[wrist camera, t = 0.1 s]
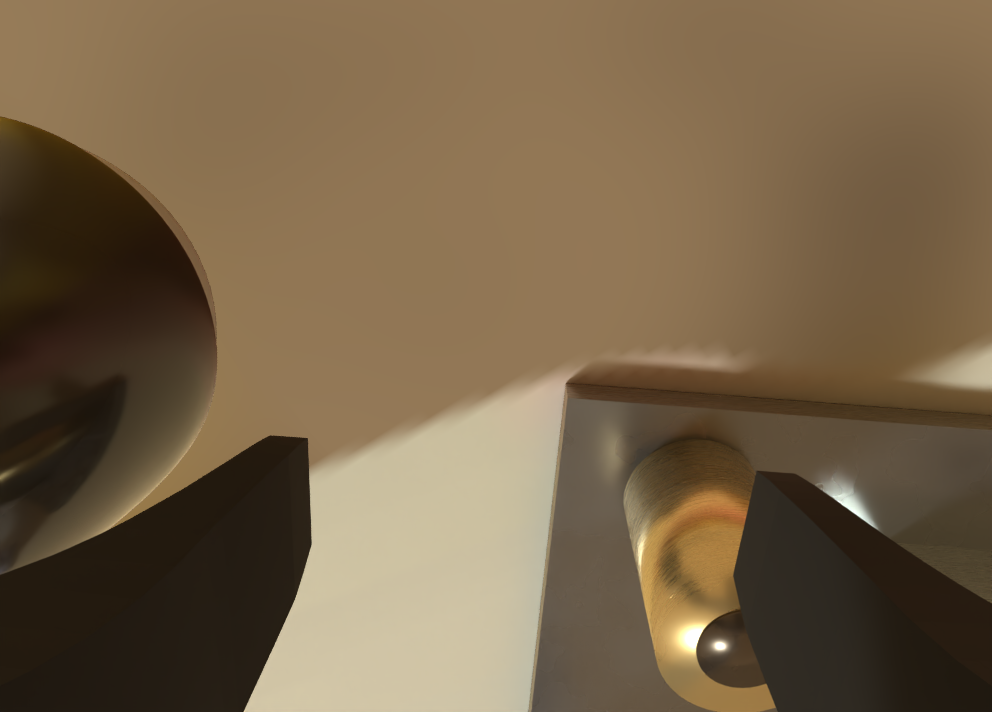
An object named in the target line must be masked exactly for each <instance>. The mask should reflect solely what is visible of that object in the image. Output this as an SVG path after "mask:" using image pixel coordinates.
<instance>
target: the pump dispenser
mask: <svg viewBox="0 0 992 712" xmlns="http://www.w3.org/2000/svg"><path fill="white" fill-rule="evenodd" d="M216 371H217V346H216V316H215V308H214V302H213V297H212V293H211V288H210V285H209V282H208V279H207V276H206V273H205V270H204V268H203V265H202V263H201V261H200V258H199V256H198V254H197V253H196V251H195V249H194V247H193V245H192V243H191V242H190V240H189V239H188V237H187V235H186V234H185V232H184V231H183V229H182V228H181V226H180V225H179V224H178V222H177V221H176V220H175V219H174V217H173V216H172V215H171V214H170V212H169V211H168V210H167V209H166V208H165V207H164V206H163V205H162V204H161V203H160V202H159V201H158V200H157V199H156V198H155V197H154V196H153V195H152V194H151V193H150V192H149V191H148V190H147V189H146V188H144V187H143V186H142V185H141V184H140V183H138V182H137V181H135V180H134V179H133V178H132V177H130V176H129V175H128V174H126V173H125V172H123V171H122V170H120V169H118V168H117V167H115V166H114V165H112V164H111V163H109V162H107V161H106V160H104V159H102V158H100V157H98V156H96V155H94V154H92V153H90V152H88V151H86V150H83V149H81V148H79V147H77V146H76V145H74V144H72V143H70V142H68V141H66V140H64V139H62V138H60V137H58V136H56V135H54V134H51V133H49V132H47V131H45V130H42V129H40V128H37V127H34V126H32V125H29V124H26V123H22V122H19V121H16V120H12V119H8V118H5V117H0V575H1V574H4V573H6V572H9V571H12V570H14V569H17V568H20V567H22V566H25V565H28V564H30V563H33V562H36V561H38V560H41V559H44V558H46V557H49V556H51V555H54V554H56V553H59V552H61V551H63V550H66V549H68V548H70V547H72V546H74V545H77V544H79V543H81V542H83V541H86V540H88V539H90V538H92V537H94V536H97V535H99V534H101V533H103V532H105V531H107V530H108V529H110V528H111V527H112V526H113V525H114V524H116V523H117V522H118V521H119V520H120V519H122V518H123V517H124V516H125V515H126V514H127V513H129V512H130V511H131V510H132V509H133V508H134V507H136V506H137V505H138V504H139V503H140V502H141V501H142V500H143V499H144V498H145V497H147V496H148V495H149V494H150V493H151V492H152V491H153V490H154V489H155V488H156V487H157V486H158V485H159V484H160V483H161V482H162V481H163V480H164V479H165V478H166V477H167V475H168V474H169V473H170V472H171V471H172V470H173V469H174V467H175V466H176V465H177V464H178V463H179V461H180V460H181V459H182V457H183V456H184V455H185V454H186V452H187V451H188V450H189V448H190V446H191V445H192V444H193V442H194V440H195V439H196V437H197V435H198V434H199V432H200V430H201V427H202V426H203V424H204V421H205V419H206V417H207V414H208V411H209V408H210V405H211V402H212V397H213V394H214V388H215V382H216Z"/></svg>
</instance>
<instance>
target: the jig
mask: <svg viewBox="0 0 992 712" xmlns="http://www.w3.org/2000/svg"><path fill="white" fill-rule="evenodd" d="M684 440H708V441H714V442H717V443H721V444H723V445H726V446H728V447H730V448H732V449H734V450H736V451H737V452H738V453H740V454H741V455H742V456H743V457H744V458H745V459H746V460H747V461H748V462H749V464H750V465H751V466H752V468H753V470H754V471H755V473H756V471H768V472H782V473H795V474H797V475H799V476H800V477H802V478H804V479H805V480H807V481H809V482H810V483H812V484H813V485H815V486H816V487H818V488H819V489H821V490H822V491H824V492H825V493H826V494H828V495H829V496H831V497H832V498H834V499H835V500H836V501H838V502H839V503H841V504H842V505H843V506H845V507H846V508H847V509H849V510H850V511H852V512H853V513H854V514H856V515H857V516H859V517H860V518H861V519H863V520H864V521H866V522H867V523H868V524H870V525H871V526H873V527H874V528H875V529H877V530H878V531H880V532H881V533H883V534H884V535H885V536H887V537H888V538H890V539H891V540H893V541H894V542H895V543H897V544H898V545H900V546H901V547H903V548H904V549H906V550H907V551H909V552H910V553H912V554H913V555H915V556H916V557H918V558H919V559H921V560H922V561H924V562H925V563H927V564H928V565H930V566H931V567H933V568H935V569H936V570H938V571H939V572H941V573H942V574H944V575H946V576H947V577H949V578H950V579H952V580H954V581H955V582H957V583H958V584H960V585H961V586H963V587H965V588H966V589H968V590H970V591H971V592H973V593H975V594H977V595H978V596H980V597H982V598H983V599H985V600H987V601H989V602H990V603H992V416H989V415H976V414H963V413H950V412H937V411H924V410H911V409H897V408H884V407H871V406H858V405H845V404H832V403H819V402H806V401H793V400H779V399H766V398H753V397H740V396H727V395H714V394H701V393H688V392H675V391H662V390H648V389H635V388H622V387H609V386H596V385H583V384H570V383H566V386H565V395H564V403H563V412H562V421H561V430H560V439H559V447H558V456H557V465H556V474H555V482H554V491H553V500H552V509H551V517H550V526H549V535H548V544H547V553H546V561H545V570H544V579H543V588H542V596H541V605H540V614H539V623H538V631H537V640H536V649H535V658H534V666H533V675H532V684H531V693H530V702H529V710H528V712H716V711H712V710H708V709H705V708H702V707H699V706H696V705H694V704H692V703H690V702H688V701H687V700H685V699H684V698H682V697H680V696H679V695H678V694H677V693H676V692H674V691H673V690H672V689H671V688H670V686H669V685H668V684H667V683H666V681H665V680H664V678H663V677H662V675H661V673H660V670H659V668H658V665H657V660H656V656H655V651H654V647H653V642H652V637H651V633H650V628H649V623H648V618H647V614H646V609H645V604H644V600H643V595H642V590H641V586H640V581H639V576H638V572H637V567H636V562H635V558H634V553H633V548H632V543H631V539H630V534H629V529H628V525H627V520H626V515H625V511H624V502H623V500H624V492H625V487H626V484H627V482H628V479H629V477H630V476H631V474H632V472H633V471H634V469H635V468H636V467H637V465H638V464H639V463H640V462H641V461H642V460H643V459H645V458H646V457H647V456H648V455H650V454H651V453H653V452H654V451H656V450H658V449H659V448H662V447H664V446H666V445H669V444H672V443H675V442H679V441H684ZM760 712H778V711H777V709H776V708H772V709H769V710H765V711H760Z"/></svg>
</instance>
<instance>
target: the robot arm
mask: <svg viewBox="0 0 992 712" xmlns="http://www.w3.org/2000/svg"><path fill="white" fill-rule="evenodd" d="M311 545H312V541H311V513H310V486H309V459H308V438H298V437H284V436H268V437H266V438H264V439H262V440H261V441H259V442H257V443H256V444H254V445H252V446H251V447H249V448H248V449H246V450H244V451H243V452H241V453H240V454H238V455H236V456H235V457H233V458H232V459H231V460H229V461H227V462H226V463H224V464H222V465H221V466H219V467H218V468H216V469H214V470H213V471H211V472H210V473H208V474H206V475H205V476H203V477H202V478H200V479H198V480H197V481H195V482H194V483H192V484H190V485H189V486H187V487H186V488H184V489H182V490H181V491H179V492H177V493H175V494H173V495H172V496H170V497H169V498H166V499H165V500H163V501H161V502H159V503H158V504H156V505H154V506H152V507H150V508H149V509H147V510H145V511H143V512H142V513H140V514H138V515H136V516H134V517H133V518H131V519H129V520H127V521H125V522H123V523H121V524H119V525H117V526H115V527H113V528H111V529H109V530H107V531H105V532H103V533H101V534H99V535H97V536H94V537H92V538H90V539H88V540H86V541H83V542H81V543H79V544H77V545H74V546H72V547H70V548H68V549H66V550H63V551H61V552H59V553H56V554H54V555H51V556H49V557H46V558H44V559H41V560H38V561H36V562H33V563H30V564H28V565H25V566H22V567H20V568H17V569H14V570H12V571H9V572H6V573H4V574H1V575H0V712H244V710H245V707H246V705H247V703H248V701H249V699H250V697H251V694H252V692H253V690H254V688H255V686H256V684H257V681H258V679H259V677H260V675H261V673H262V671H263V668H264V666H265V664H266V662H267V660H268V658H269V655H270V653H271V651H272V649H273V647H274V645H275V642H276V640H277V638H278V636H279V634H280V631H281V629H282V627H283V625H284V623H285V620H286V618H287V616H288V614H289V611H290V609H291V607H292V605H293V602H294V600H295V598H296V595H297V591H298V588H299V585H300V582H301V579H302V576H303V572H304V569H305V565H306V562H307V558H308V555H309V552H310V548H311ZM733 577H734V582H735V586H736V591H737V595H738V600H739V604H740V609H741V612H742V616H743V620H744V624H745V628H746V632H747V635H748V637H749V640H750V643H751V645H752V648H753V650H754V653H755V656H756V658H757V661H758V663H759V666H760V669H761V671H762V674H763V676H764V679H765V681H766V684H767V686H768V689H769V691H770V694H771V696H772V699H773V701H774V704H775V706H776V709H777V711H778V712H992V603H990V602H989V601H987V600H985V599H983V598H982V597H980V596H978V595H977V594H975V593H973V592H971V591H970V590H968V589H966V588H965V587H963V586H961V585H960V584H958V583H957V582H955V581H954V580H952V579H950V578H949V577H947V576H946V575H944V574H942V573H941V572H939V571H938V570H936V569H935V568H933V567H931V566H930V565H928V564H927V563H925V562H924V561H922V560H921V559H919V558H918V557H916V556H915V555H913V554H912V553H910V552H909V551H907V550H906V549H904V548H903V547H901V546H900V545H898V544H897V543H895V542H894V541H893V540H891V539H890V538H888V537H887V536H885V535H884V534H883V533H881V532H880V531H878V530H877V529H875V528H874V527H873V526H871V525H870V524H868V523H867V522H866V521H864V520H863V519H861V518H860V517H859V516H857V515H856V514H854V513H853V512H852V511H850V510H849V509H847V508H846V507H845V506H843V505H842V504H841V503H839V502H838V501H836V500H835V499H834V498H832V497H831V496H829V495H828V494H826V493H825V492H824V491H822V490H821V489H819V488H818V487H816V486H815V485H813V484H812V483H810V482H809V481H807V480H805V479H804V478H802V477H800V476H799V475H797V474H795V473H782V472H768V471H756V475H755V480H754V484H753V489H752V493H751V498H750V502H749V506H748V511H747V515H746V520H745V524H744V529H743V533H742V537H741V542H740V546H739V551H738V555H737V560H736V564H735V569H734V573H733Z"/></svg>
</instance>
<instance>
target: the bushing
mask: <svg viewBox="0 0 992 712" xmlns="http://www.w3.org/2000/svg"><path fill="white" fill-rule="evenodd" d="M755 475H756V473H755V471H754V470H753V468H752V466H751V465H750V464H749V462H748V461H747V460H746V459H745V458H744V457H743V456H742V455H741V454H740V453H738V452H737V451H736V450H734V449H732V448H730V447H728V446H726V445H723V444H721V443H717V442H714V441H708V440H684V441H679V442H675V443H672V444H669V445H666V446H664V447H662V448H659V449H658V450H656V451H654V452H653V453H651V454H650V455H648V456H647V457H646V458H645V459H643V460H642V461H641V462H640V463H639V464H638V465H637V467H636V468H635V469H634V471H633V472H632V474H631V476H630V477H629V479H628V482H627V484H626V487H625V492H624V500H623V502H624V511H625V515H626V520H627V525H628V529H629V534H630V539H631V543H632V548H633V553H634V558H635V562H636V567H637V572H638V576H639V581H640V586H641V590H642V595H643V600H644V604H645V609H646V614H647V618H648V623H649V628H650V633H651V637H652V642H653V647H654V651H655V656H656V660H657V665H658V668H659V670H660V673H661V675H662V677H663V678H664V680H665V681H666V683H667V684H668V685H669V686H670V688H671V689H672V690H673V691H674V692H676V693H677V694H678V695H679V696H680V697H682V698H684V699H685V700H687V701H688V702H690V703H692V704H694V705H696V706H699V707H702V708H705V709H708V710H712V711H716V712H760V711H765V710H769V709H772V708H776V706H775V704H774V701H773V699H772V696H771V694H770V691H769V689H768V686H767V684H766V681H765V679H764V676H763V674H762V671H761V669H760V666H759V663H758V661H757V658H756V656H755V653H754V650H753V648H752V645H751V643H750V640H749V637H748V635H747V632H746V628H745V624H744V620H743V616H742V612H741V609H740V604H739V600H738V595H737V591H736V586H735V582H734V577H733V573H734V569H735V564H736V560H737V555H738V551H739V546H740V542H741V537H742V533H743V529H744V524H745V520H746V515H747V511H748V506H749V502H750V498H751V493H752V489H753V484H754V480H755Z"/></svg>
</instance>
